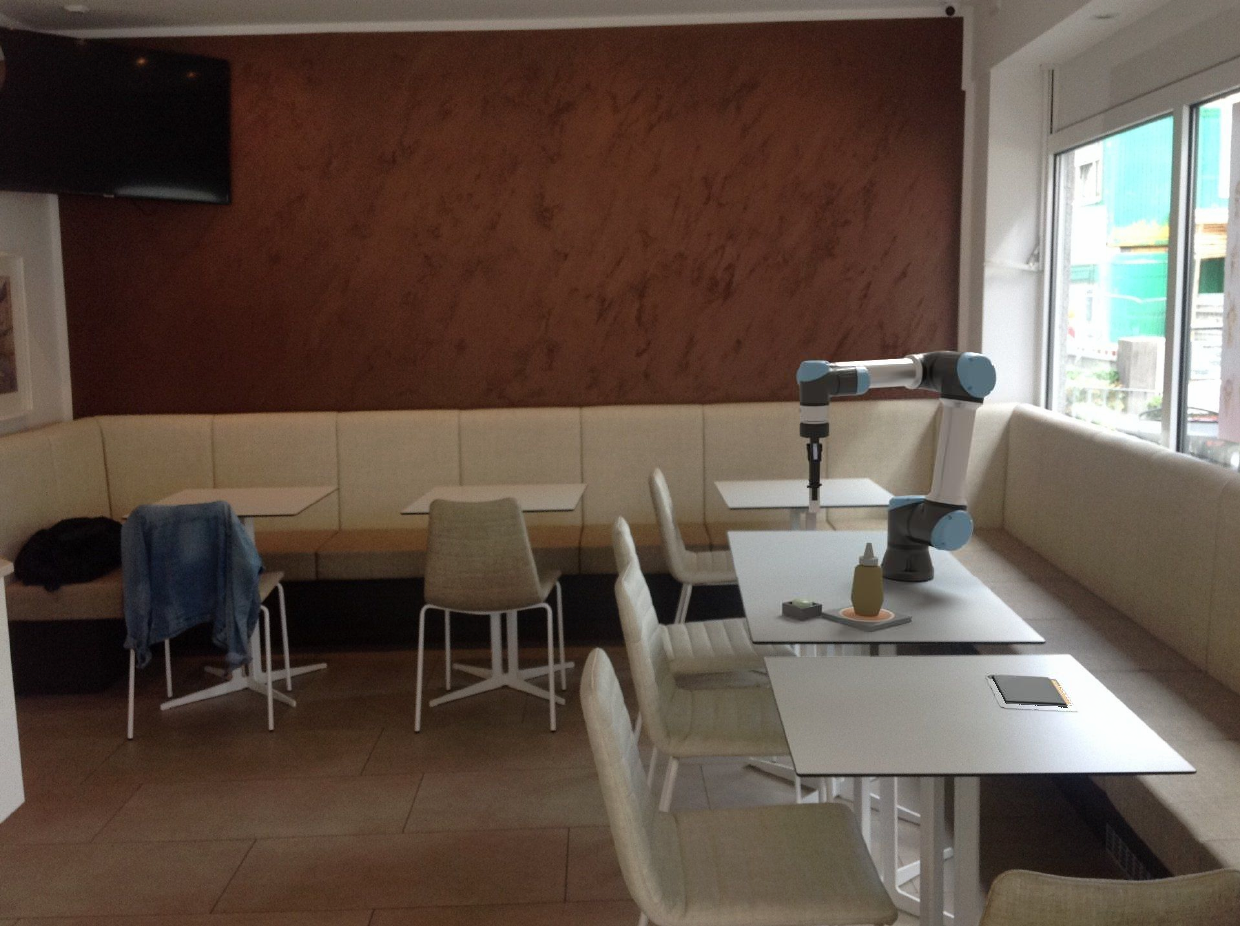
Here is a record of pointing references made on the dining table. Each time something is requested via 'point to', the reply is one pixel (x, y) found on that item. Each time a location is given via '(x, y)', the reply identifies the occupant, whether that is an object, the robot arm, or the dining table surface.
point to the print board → (866, 618)
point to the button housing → (802, 611)
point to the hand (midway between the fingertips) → (814, 512)
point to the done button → (802, 602)
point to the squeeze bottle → (867, 585)
